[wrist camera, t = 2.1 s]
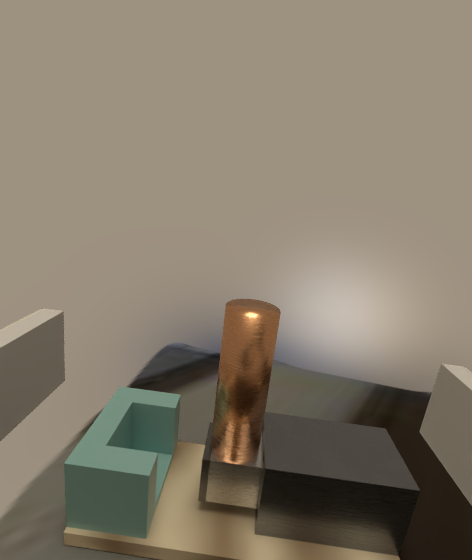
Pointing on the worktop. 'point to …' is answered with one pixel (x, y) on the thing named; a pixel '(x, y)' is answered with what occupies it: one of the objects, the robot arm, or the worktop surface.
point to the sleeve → (333, 485)
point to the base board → (205, 527)
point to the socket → (122, 463)
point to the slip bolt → (240, 405)
